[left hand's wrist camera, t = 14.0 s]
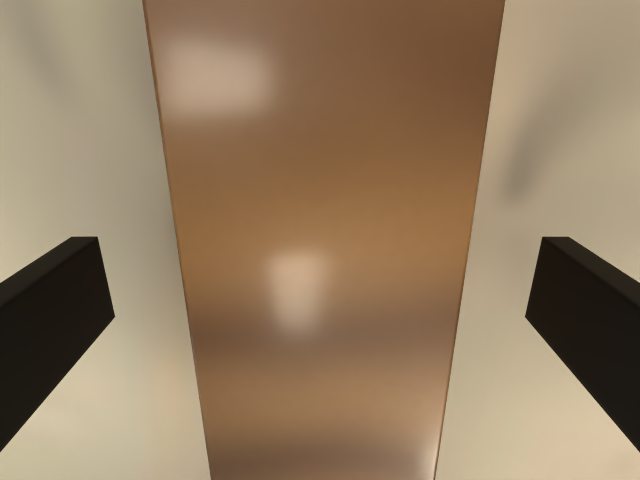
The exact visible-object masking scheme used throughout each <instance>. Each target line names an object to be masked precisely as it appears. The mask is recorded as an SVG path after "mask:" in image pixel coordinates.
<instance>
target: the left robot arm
mask: <svg viewBox="0 0 640 480" xmlns="http://www.w3.org/2000/svg"><path fill="white" fill-rule="evenodd" d="M114 318H115V315H114V310H113V305H112V301H111V296H110V292H109V287H108V282H107V278H106V273H105V269H104V264H103V260H102V255H101V250H100V246H99V241H98V237H70V238H69V239H67V240H66V241H64V242H63V243H61V244H60V245H58V246H57V247H55V248H54V249H52V250H50V251H49V252H47V253H46V254H44V255H43V256H41V257H40V258H38V259H37V260H35V261H34V262H32V263H30V264H29V265H27V266H26V267H24V268H23V269H21V270H20V271H18V272H17V273H15V274H14V275H12V276H10V277H9V278H7V279H6V280H4V281H3V282H1V283H0V452H1V451H2V450H3V448H4V447H5V446H6V445H7V444H8V443H9V441H10V440H11V439H12V438H13V437H14V435H15V434H16V433H17V432H18V431H19V430H20V428H21V427H22V426H23V425H24V424H25V422H26V421H27V420H28V419H29V418H30V417H31V415H32V414H33V413H34V412H35V411H36V410H37V408H38V407H39V406H40V405H41V404H42V402H43V401H44V400H45V399H46V398H47V397H48V395H49V394H50V393H51V392H52V391H53V389H54V388H55V387H56V386H57V385H58V384H59V382H60V381H61V380H62V379H63V378H64V376H65V375H66V374H67V373H68V372H69V371H70V369H71V368H72V367H73V366H74V365H75V364H76V362H77V361H78V360H79V359H80V358H81V356H82V355H83V354H84V353H85V352H86V351H87V349H88V348H89V347H90V346H91V345H92V343H93V342H94V341H95V340H96V339H97V338H98V336H99V335H100V334H101V333H102V332H103V330H104V329H105V328H106V327H107V326H108V325H109V323H110V322H111V321H112V320H113V319H114ZM525 318H526V319H527V320H528V321H529V322H530V323H531V325H532V326H533V327H534V328H535V329H536V330H537V332H538V333H539V334H540V335H541V336H542V338H543V339H544V340H545V341H546V342H547V343H548V345H549V346H550V347H551V348H552V349H553V351H554V352H555V353H556V354H557V355H558V356H559V358H560V359H561V360H562V361H563V362H564V364H565V365H566V366H567V367H568V368H569V369H570V371H571V372H572V373H573V374H574V375H575V376H576V378H577V379H578V380H579V381H580V382H581V384H582V385H583V386H584V387H585V388H586V389H587V391H588V392H589V393H590V394H591V395H592V397H593V398H594V399H595V400H596V401H597V402H598V404H599V405H600V406H601V407H602V408H603V410H604V411H605V412H606V413H607V414H608V415H609V417H610V418H611V419H612V420H613V421H614V422H615V424H616V425H617V426H618V427H619V428H620V430H621V431H622V432H623V433H624V434H625V435H626V437H627V438H628V439H629V440H630V441H631V443H632V444H633V445H634V446H635V447H636V448H637V450H638V451H639V452H640V283H639V282H637V281H636V280H634V279H633V278H631V277H630V276H628V275H626V274H625V273H623V272H622V271H620V270H619V269H617V268H616V267H614V266H613V265H611V264H610V263H608V262H606V261H605V260H603V259H602V258H600V257H599V256H597V255H596V254H594V253H593V252H591V251H590V250H588V249H586V248H585V247H583V246H582V245H580V244H579V243H577V242H576V241H574V240H573V239H571V238H570V237H542V241H541V246H540V250H539V255H538V260H537V264H536V269H535V273H534V278H533V282H532V287H531V292H530V296H529V301H528V305H527V310H526V315H525Z"/></svg>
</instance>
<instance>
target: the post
mask: <svg viewBox="0 0 640 480" xmlns="http://www.w3.org/2000/svg"><path fill="white" fill-rule="evenodd" d="M142 3H143V10H144V17H145V24H146V30H147V37H148V44H149V51H150V58H151V65H152V72H153V79H154V86H155V93H156V100H157V107H158V114H159V121H160V128H161V135H162V142H163V149H164V156H165V163H166V170H167V177H168V184H169V190H170V197H171V204H172V211H173V218H174V225H175V232H176V239H177V246H178V253H179V260H180V267H181V274H182V281H183V288H184V295H185V302H186V309H187V316H188V323H189V330H190V337H191V344H192V350H193V357H194V364H195V371H196V378H197V385H198V392H199V399H200V406H201V413H202V420H203V427H204V434H205V441H206V448H207V455H208V462H209V469H210V476H211V480H435V476H436V469H437V462H438V455H439V448H440V442H441V435H442V428H443V421H444V414H445V407H446V401H447V394H448V387H449V380H450V373H451V366H452V360H453V353H454V346H455V339H456V332H457V325H458V319H459V312H460V305H461V298H462V291H463V285H464V278H465V271H466V264H467V257H468V250H469V244H470V237H471V230H472V223H473V216H474V209H475V203H476V196H477V189H478V182H479V175H480V168H481V162H482V155H483V148H484V141H485V134H486V128H487V121H488V114H489V107H490V100H491V93H492V87H493V80H494V73H495V66H496V59H497V52H498V46H499V39H500V32H501V25H502V18H503V11H504V5H505V0H142Z"/></svg>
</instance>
